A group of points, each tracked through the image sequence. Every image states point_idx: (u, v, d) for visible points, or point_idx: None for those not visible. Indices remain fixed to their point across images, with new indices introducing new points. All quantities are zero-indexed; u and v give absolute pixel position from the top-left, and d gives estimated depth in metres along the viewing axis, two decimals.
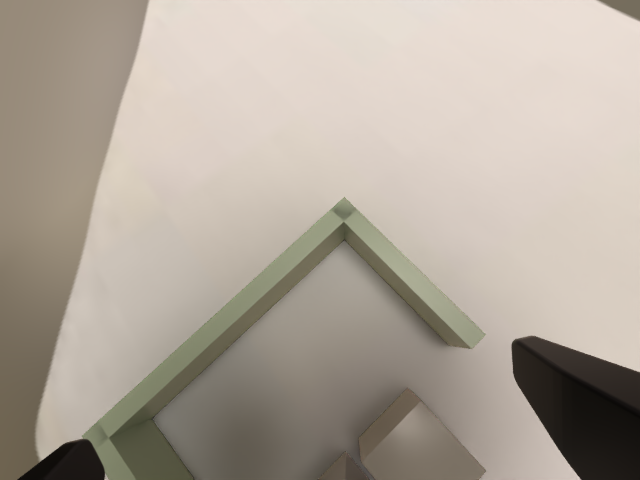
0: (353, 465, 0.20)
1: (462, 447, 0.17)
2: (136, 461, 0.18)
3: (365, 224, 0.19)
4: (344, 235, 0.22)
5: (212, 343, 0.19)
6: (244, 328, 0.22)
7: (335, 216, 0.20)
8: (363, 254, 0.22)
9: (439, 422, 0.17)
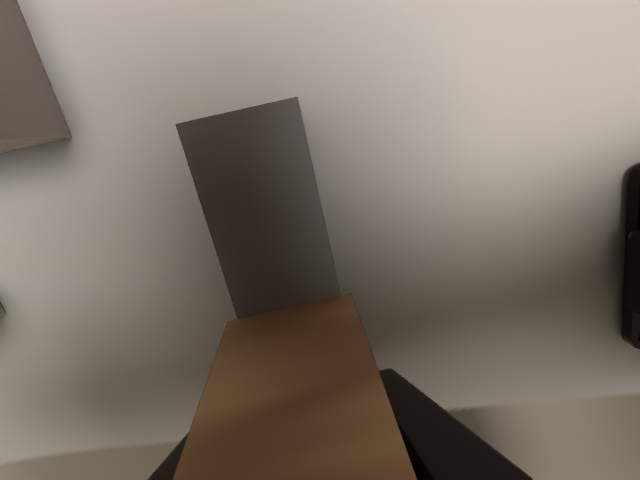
0: None
1: None
2: None
3: None
4: None
5: None
6: None
7: None
8: None
9: None
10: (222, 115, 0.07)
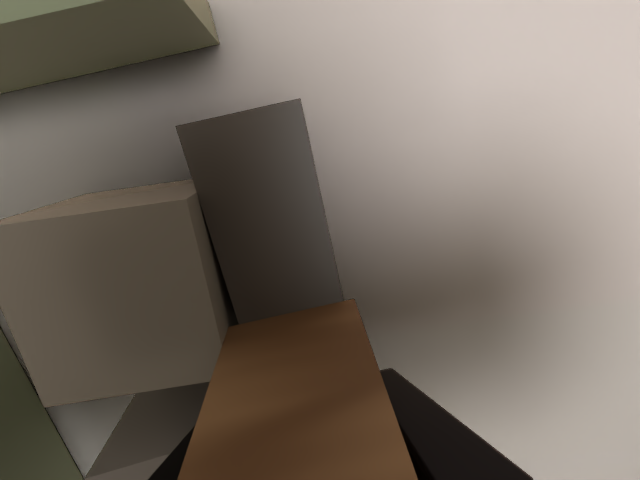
0: None
1: (114, 213, 0.07)
2: None
3: None
4: None
5: None
6: (7, 396, 0.11)
7: None
8: None
9: (35, 224, 0.07)
10: (223, 117, 0.07)
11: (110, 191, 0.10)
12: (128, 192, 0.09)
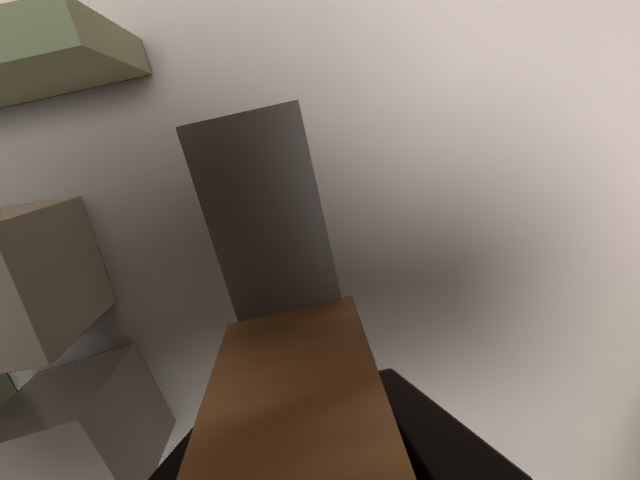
0: (38, 381, 0.13)
1: None
2: None
3: None
4: None
5: None
6: None
7: None
8: None
9: None
10: (222, 118, 0.07)
11: None
12: None
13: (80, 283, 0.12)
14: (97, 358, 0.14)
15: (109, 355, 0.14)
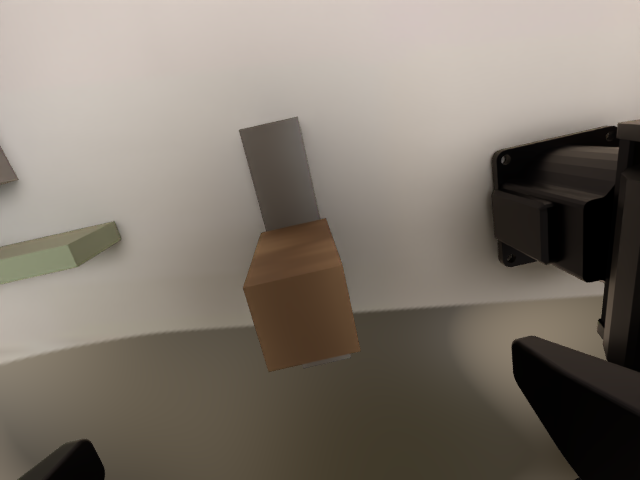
0: None
1: None
2: None
3: None
4: None
5: None
6: None
7: None
8: None
9: None
10: (261, 125, 0.15)
11: None
12: None
13: None
14: None
15: None
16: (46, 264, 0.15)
